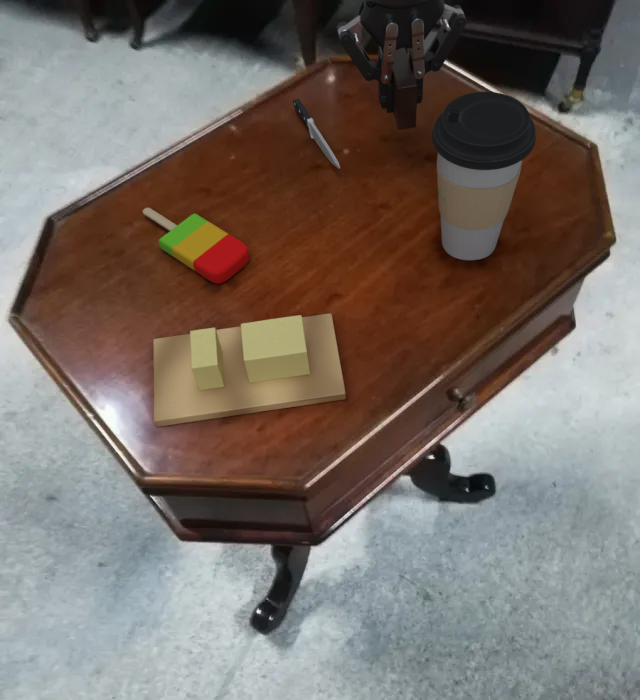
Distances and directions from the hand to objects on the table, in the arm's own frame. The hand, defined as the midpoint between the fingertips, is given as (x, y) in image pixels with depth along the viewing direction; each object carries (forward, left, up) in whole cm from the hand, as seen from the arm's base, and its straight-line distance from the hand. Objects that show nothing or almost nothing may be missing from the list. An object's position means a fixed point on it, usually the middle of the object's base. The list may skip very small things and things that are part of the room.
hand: (400, 106), depth 83 cm
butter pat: (+24, +29, -5) cm, 38 cm away
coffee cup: (-5, +16, -6) cm, 18 cm away
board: (+20, +29, -6) cm, 36 cm away
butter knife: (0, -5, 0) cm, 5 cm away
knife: (+9, -4, -6) cm, 12 cm away
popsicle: (+25, +10, -6) cm, 28 cm away
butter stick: (+17, +29, -5) cm, 34 cm away
